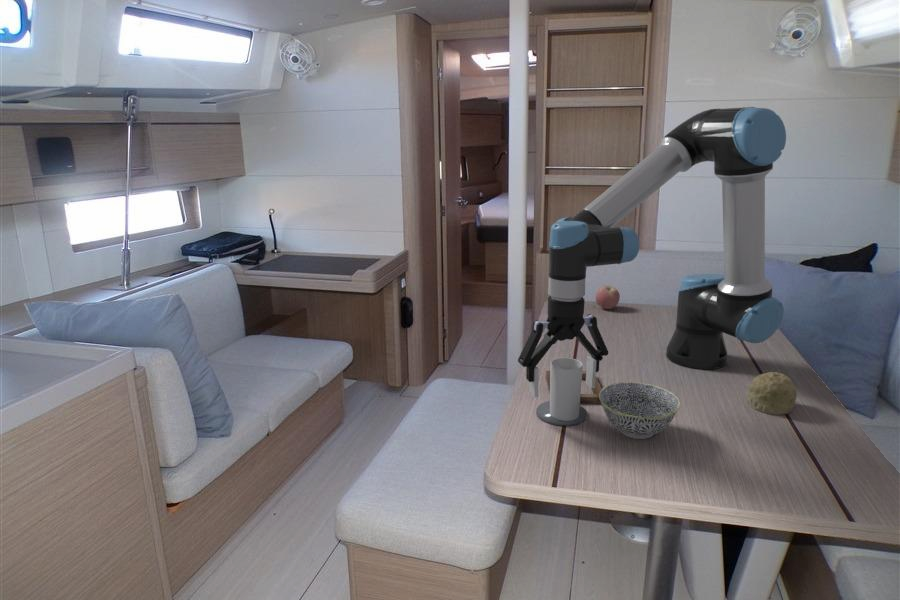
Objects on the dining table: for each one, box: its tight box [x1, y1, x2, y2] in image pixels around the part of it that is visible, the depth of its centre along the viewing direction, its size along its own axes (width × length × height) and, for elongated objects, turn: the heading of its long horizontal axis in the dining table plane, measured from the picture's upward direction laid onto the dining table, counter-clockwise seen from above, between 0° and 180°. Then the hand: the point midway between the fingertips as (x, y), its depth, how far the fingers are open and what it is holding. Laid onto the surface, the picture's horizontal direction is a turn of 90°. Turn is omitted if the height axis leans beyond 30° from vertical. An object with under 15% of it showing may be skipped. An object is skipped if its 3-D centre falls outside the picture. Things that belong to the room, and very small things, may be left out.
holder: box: [544, 370, 603, 404], centre depth 144 cm, size 12×15×2 cm
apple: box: [595, 285, 620, 310], centre depth 204 cm, size 8×8×8 cm
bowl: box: [599, 381, 682, 440], centre depth 123 cm, size 16×16×8 cm
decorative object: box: [746, 371, 798, 416], centre depth 133 cm, size 9×10×10 cm
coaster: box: [535, 400, 588, 427], centre depth 132 cm, size 11×11×1 cm
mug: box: [549, 357, 584, 421], centre depth 130 cm, size 10×7×12 cm, turn 175°
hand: (562, 390), depth 130 cm, fingers open, 13 cm apart
